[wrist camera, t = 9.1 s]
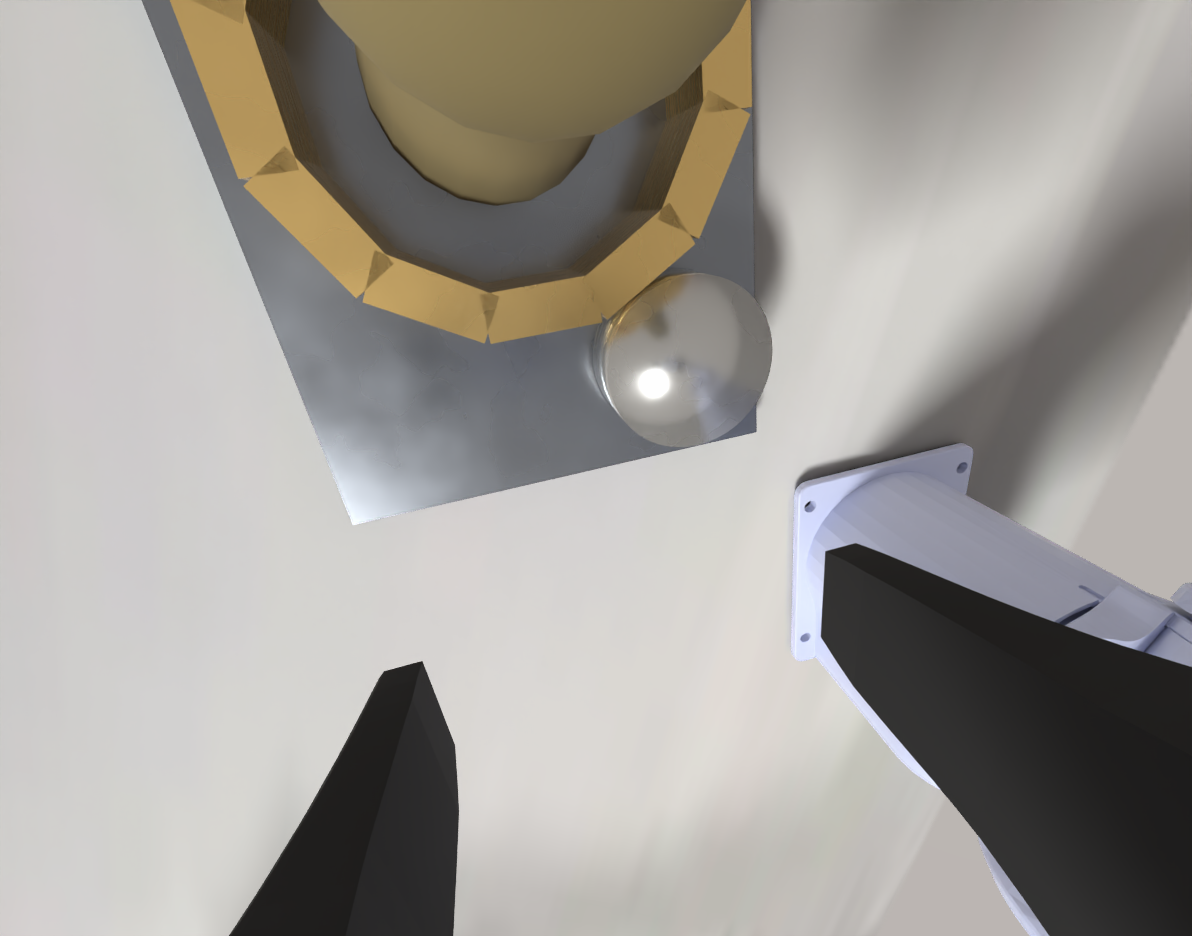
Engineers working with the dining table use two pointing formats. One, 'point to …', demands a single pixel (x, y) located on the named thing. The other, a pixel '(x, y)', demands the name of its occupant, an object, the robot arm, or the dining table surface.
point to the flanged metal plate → (480, 268)
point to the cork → (519, 79)
